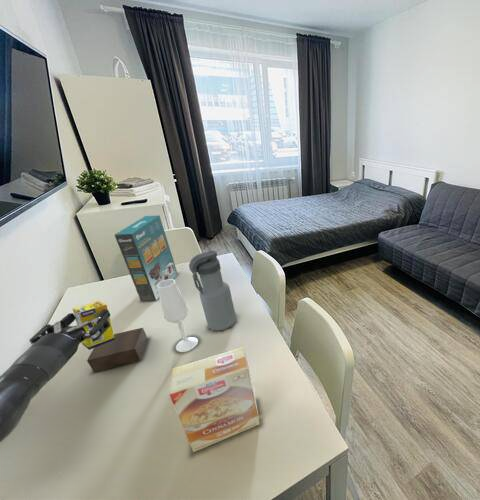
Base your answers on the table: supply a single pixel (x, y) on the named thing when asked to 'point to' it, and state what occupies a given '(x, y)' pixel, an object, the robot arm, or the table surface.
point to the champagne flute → (175, 311)
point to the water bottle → (213, 291)
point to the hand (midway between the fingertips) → (90, 313)
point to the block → (119, 350)
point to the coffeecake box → (214, 398)
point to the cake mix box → (147, 255)
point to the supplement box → (89, 314)
